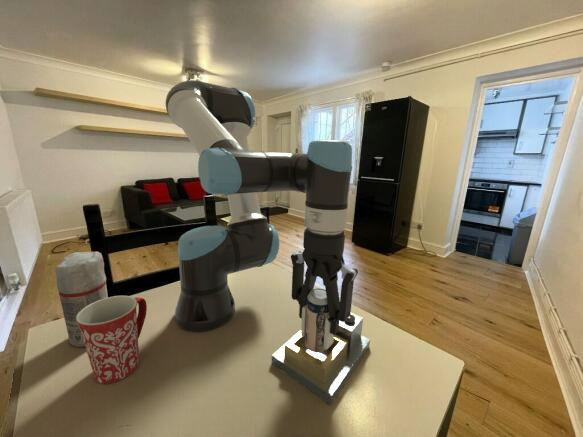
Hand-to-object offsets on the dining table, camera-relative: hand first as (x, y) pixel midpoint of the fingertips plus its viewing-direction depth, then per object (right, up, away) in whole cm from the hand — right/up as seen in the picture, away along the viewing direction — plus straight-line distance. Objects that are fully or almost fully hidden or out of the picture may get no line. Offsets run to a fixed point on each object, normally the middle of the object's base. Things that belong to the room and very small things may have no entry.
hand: (316, 338), depth 50 cm
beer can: (0, -2, 0) cm, 2 cm away
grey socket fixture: (+2, -5, +4) cm, 7 cm away
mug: (-39, -5, 0) cm, 39 cm away
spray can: (-51, -3, +7) cm, 52 cm away
